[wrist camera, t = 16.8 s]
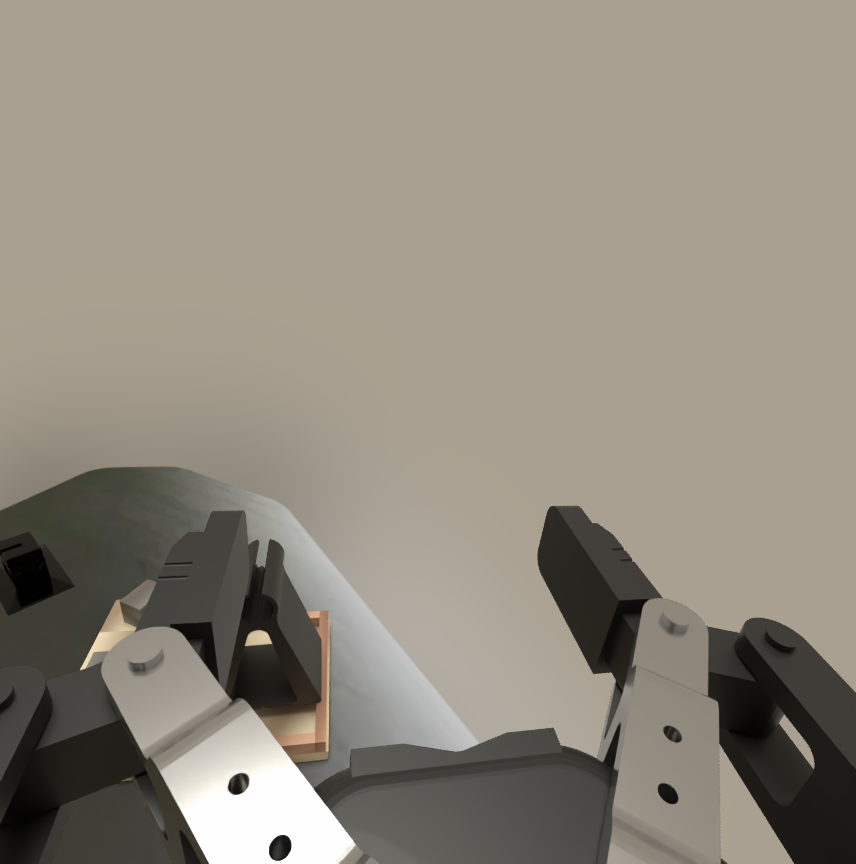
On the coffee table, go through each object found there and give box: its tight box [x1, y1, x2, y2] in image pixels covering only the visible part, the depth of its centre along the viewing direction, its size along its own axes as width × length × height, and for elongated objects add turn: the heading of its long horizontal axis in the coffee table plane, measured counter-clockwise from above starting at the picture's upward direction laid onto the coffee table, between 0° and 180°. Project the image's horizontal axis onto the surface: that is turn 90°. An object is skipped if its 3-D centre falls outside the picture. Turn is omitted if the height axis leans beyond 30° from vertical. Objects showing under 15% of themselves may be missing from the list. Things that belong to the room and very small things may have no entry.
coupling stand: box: [80, 579, 330, 782], centre depth 44 cm, size 21×17×4 cm
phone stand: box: [225, 539, 321, 710], centre depth 40 cm, size 9×6×12 cm, turn 100°
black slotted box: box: [0, 532, 74, 615], centre depth 52 cm, size 12×7×5 cm, turn 49°
